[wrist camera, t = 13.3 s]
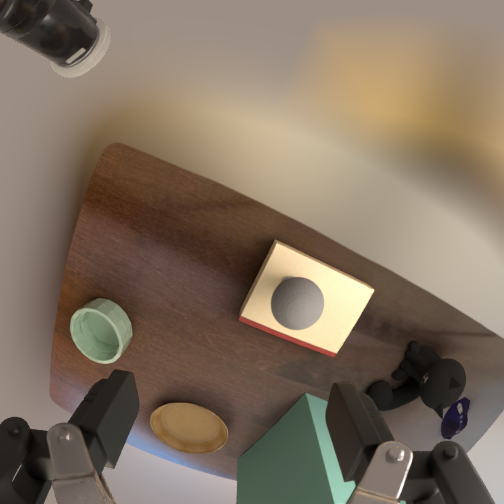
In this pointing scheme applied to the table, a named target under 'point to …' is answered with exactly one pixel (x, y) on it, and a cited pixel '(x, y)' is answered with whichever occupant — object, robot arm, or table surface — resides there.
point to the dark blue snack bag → (455, 418)
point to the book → (334, 292)
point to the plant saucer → (189, 428)
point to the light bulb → (297, 303)
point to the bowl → (101, 330)
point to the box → (294, 461)
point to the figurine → (423, 381)
